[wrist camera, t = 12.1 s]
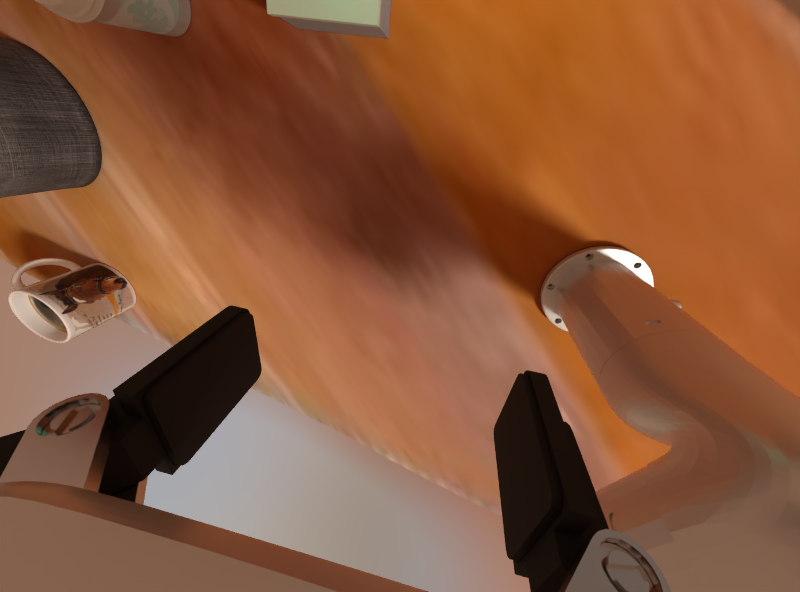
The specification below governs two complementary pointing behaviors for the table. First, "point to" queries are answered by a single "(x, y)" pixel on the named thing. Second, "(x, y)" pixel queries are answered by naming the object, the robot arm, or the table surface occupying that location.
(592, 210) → the table surface
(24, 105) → the planter
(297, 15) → the pedestal
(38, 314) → the mug
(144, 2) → the coffee cup
